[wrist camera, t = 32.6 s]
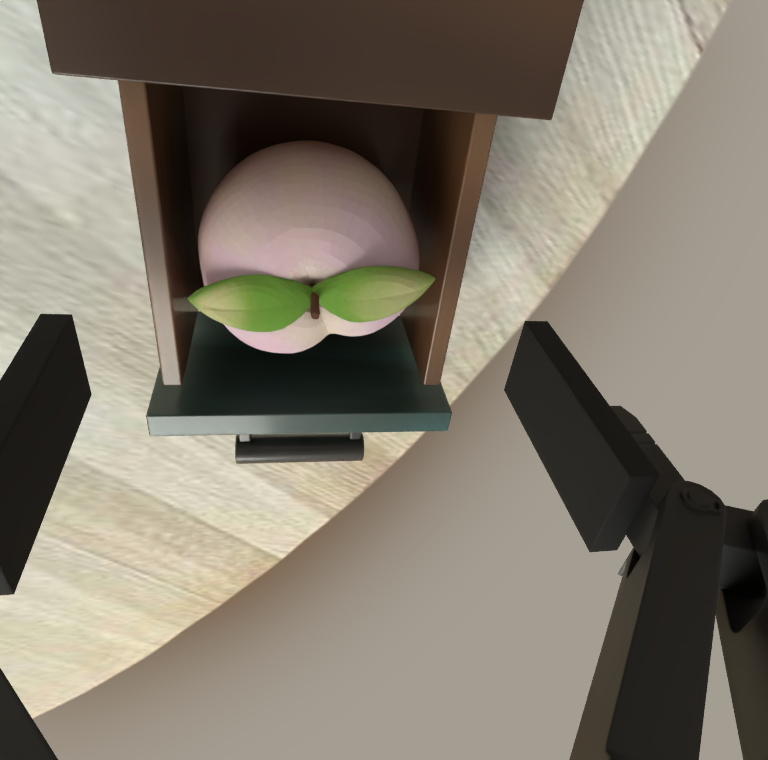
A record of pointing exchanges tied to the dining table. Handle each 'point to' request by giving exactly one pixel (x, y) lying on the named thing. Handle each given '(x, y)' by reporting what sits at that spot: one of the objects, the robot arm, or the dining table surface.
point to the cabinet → (327, 48)
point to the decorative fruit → (306, 248)
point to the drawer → (335, 352)
